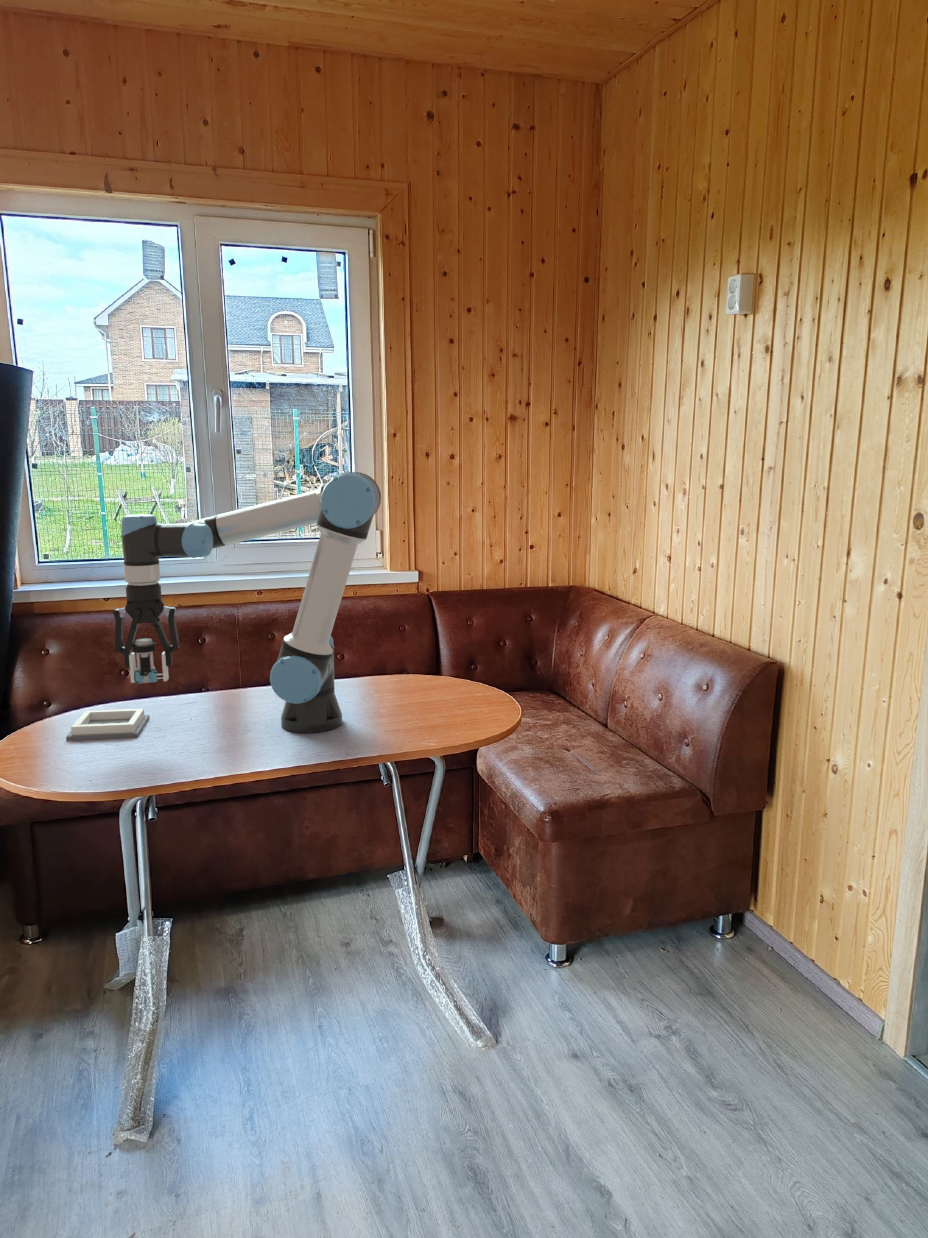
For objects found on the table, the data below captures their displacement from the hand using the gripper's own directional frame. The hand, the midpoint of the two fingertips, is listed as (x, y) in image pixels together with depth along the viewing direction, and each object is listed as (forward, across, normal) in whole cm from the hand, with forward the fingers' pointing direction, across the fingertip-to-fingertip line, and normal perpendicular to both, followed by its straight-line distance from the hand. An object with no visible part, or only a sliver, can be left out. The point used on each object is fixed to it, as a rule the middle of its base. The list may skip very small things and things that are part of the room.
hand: (150, 680), depth 197 cm
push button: (+1, 0, 0) cm, 1 cm away
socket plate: (+15, +12, -10) cm, 21 cm away
